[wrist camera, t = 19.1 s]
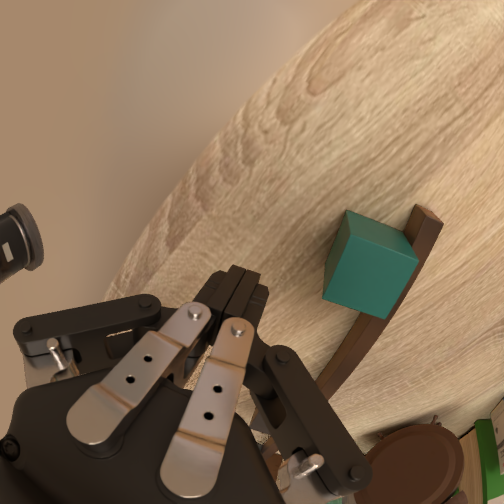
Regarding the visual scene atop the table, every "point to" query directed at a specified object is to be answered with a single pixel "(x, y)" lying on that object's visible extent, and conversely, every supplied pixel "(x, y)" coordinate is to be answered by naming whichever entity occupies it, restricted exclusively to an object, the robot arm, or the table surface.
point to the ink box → (499, 432)
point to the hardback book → (481, 466)
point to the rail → (368, 326)
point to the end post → (274, 465)
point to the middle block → (258, 423)
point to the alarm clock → (415, 467)
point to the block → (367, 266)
